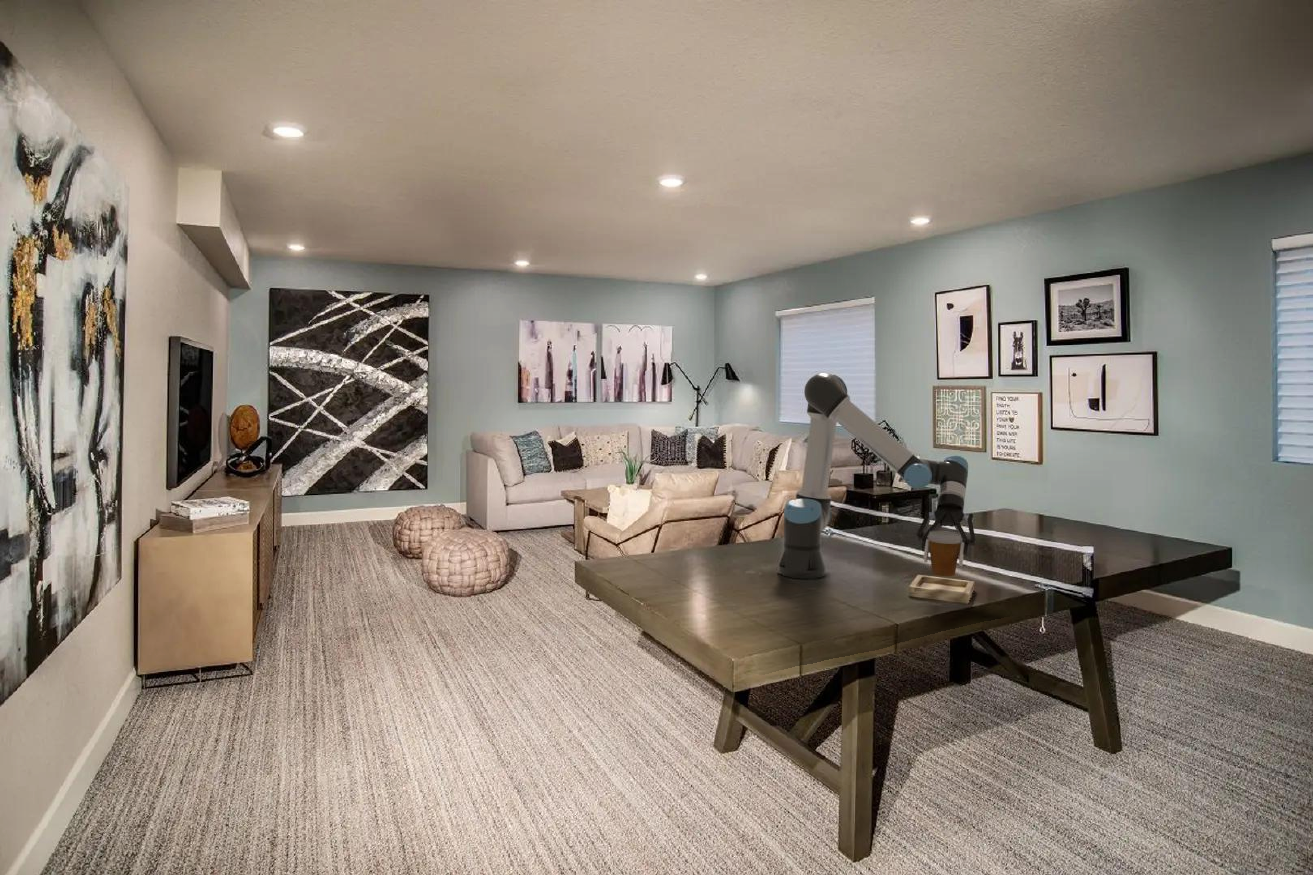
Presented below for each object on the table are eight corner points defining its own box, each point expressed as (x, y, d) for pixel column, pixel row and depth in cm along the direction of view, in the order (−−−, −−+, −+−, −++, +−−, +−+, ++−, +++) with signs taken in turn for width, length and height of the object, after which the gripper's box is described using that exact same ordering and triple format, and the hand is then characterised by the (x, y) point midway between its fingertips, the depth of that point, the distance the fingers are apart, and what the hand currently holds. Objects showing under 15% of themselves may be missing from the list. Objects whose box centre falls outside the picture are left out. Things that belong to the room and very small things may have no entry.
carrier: (908, 595, 215) (908, 586, 214) (917, 583, 229) (918, 574, 228) (968, 603, 207) (968, 594, 207) (974, 590, 221) (974, 581, 221)
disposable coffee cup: (950, 579, 211) (951, 538, 210) (919, 573, 218) (921, 532, 217) (967, 574, 217) (968, 534, 216) (936, 568, 224) (938, 528, 223)
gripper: (990, 509, 224) (984, 573, 211) (915, 504, 235) (905, 564, 222) (989, 494, 219) (983, 558, 206) (913, 489, 230) (902, 550, 217)
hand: (942, 561), depth 214 cm, fingers closed on disposable coffee cup, 9 cm apart
